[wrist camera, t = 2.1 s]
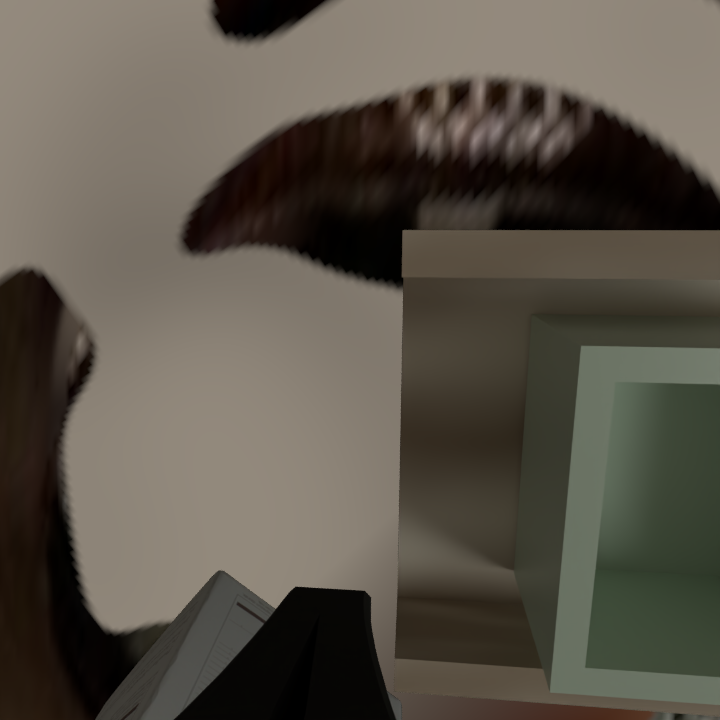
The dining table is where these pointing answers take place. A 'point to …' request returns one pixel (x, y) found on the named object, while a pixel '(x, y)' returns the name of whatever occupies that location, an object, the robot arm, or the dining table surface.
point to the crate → (623, 505)
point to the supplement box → (193, 653)
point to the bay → (501, 432)
